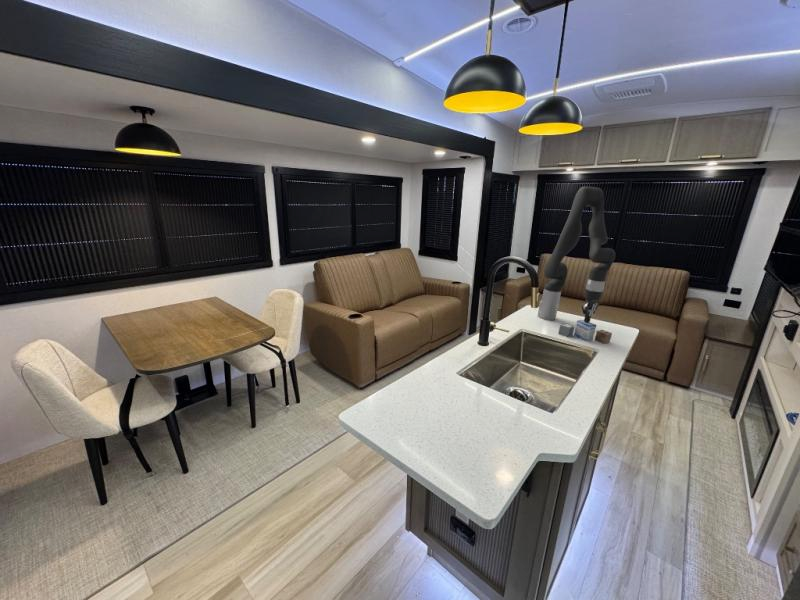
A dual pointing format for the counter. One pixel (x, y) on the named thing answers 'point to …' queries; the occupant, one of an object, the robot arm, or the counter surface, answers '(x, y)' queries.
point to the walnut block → (603, 336)
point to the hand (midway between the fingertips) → (586, 322)
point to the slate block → (566, 330)
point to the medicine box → (584, 330)
